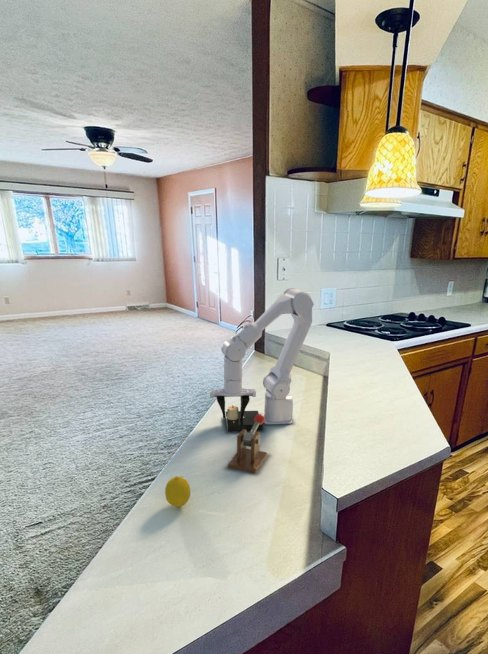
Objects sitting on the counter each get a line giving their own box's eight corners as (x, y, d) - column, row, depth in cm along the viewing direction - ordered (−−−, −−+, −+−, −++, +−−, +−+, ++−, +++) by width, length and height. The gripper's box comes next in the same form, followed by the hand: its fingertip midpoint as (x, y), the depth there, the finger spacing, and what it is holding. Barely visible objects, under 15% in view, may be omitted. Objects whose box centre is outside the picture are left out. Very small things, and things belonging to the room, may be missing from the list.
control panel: (257, 417, 142) (257, 410, 141) (262, 431, 132) (262, 423, 131) (220, 418, 140) (220, 411, 139) (221, 432, 130) (221, 425, 129)
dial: (238, 420, 133) (239, 409, 132) (227, 420, 132) (227, 409, 131) (237, 415, 136) (238, 404, 135) (226, 415, 136) (227, 405, 134)
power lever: (256, 419, 121) (255, 411, 119) (266, 421, 120) (265, 413, 118) (242, 446, 112) (241, 437, 110) (252, 448, 111) (251, 439, 109)
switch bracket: (241, 451, 120) (241, 423, 116) (267, 456, 118) (268, 428, 115) (227, 468, 111) (227, 439, 107) (255, 473, 109) (256, 444, 106)
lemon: (184, 515, 91) (183, 485, 88) (161, 511, 92) (159, 481, 89) (194, 501, 96) (193, 472, 93) (172, 497, 97) (171, 468, 94)
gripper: (254, 373, 134) (253, 411, 139) (209, 374, 131) (209, 412, 136) (257, 380, 128) (256, 420, 133) (210, 381, 125) (210, 421, 130)
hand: (232, 416), depth 134 cm, fingers open, 5 cm apart
